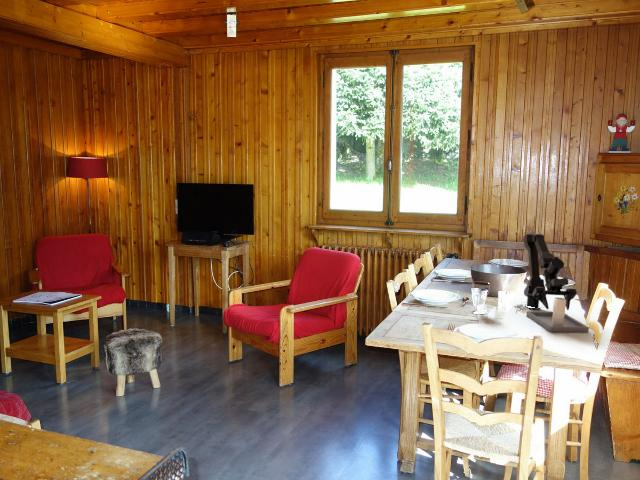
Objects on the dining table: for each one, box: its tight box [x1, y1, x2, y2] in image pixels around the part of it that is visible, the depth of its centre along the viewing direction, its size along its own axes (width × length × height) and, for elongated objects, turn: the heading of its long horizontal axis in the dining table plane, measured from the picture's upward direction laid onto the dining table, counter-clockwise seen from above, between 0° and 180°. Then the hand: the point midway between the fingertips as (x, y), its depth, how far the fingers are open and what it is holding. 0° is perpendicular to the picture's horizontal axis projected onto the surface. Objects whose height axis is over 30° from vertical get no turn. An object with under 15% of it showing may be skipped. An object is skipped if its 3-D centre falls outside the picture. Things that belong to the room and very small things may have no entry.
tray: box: [525, 310, 590, 334], centre depth 267 cm, size 24×18×2 cm
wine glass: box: [471, 280, 491, 316], centre depth 280 cm, size 8×8×15 cm
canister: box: [551, 297, 566, 326], centre depth 260 cm, size 5×5×13 cm
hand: (558, 309), depth 261 cm, fingers open, 9 cm apart
